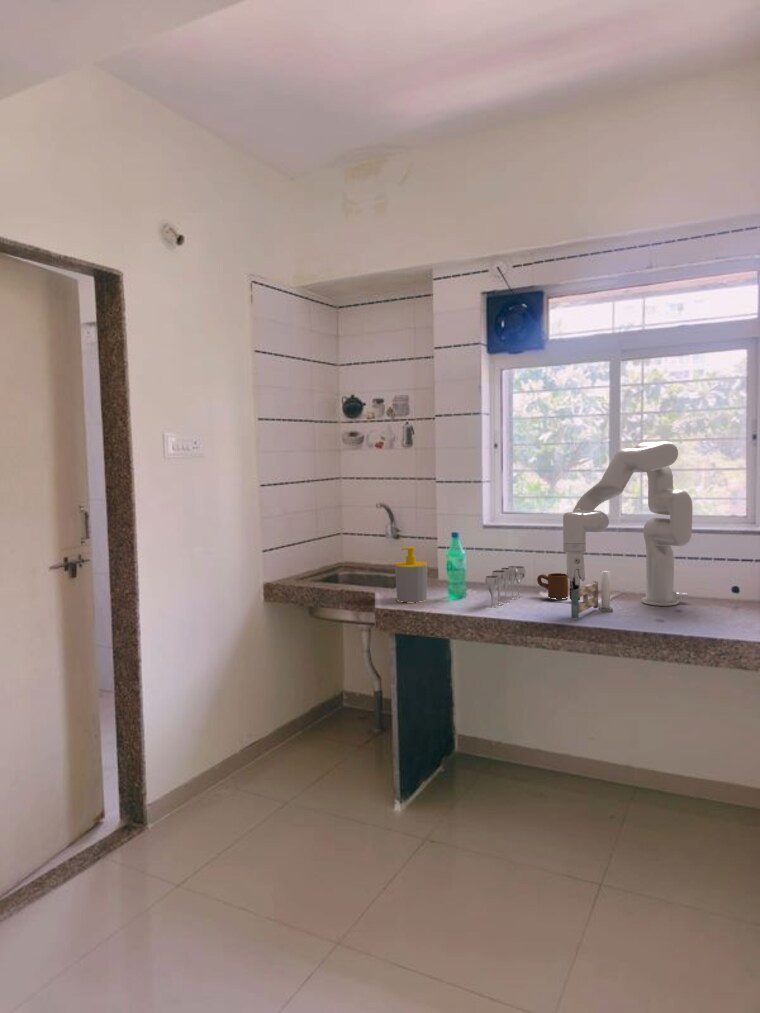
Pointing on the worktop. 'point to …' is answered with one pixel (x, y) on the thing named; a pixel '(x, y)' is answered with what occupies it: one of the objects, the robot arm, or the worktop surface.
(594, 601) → the gate
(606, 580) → the gate post
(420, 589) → the soap bottle
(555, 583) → the mug
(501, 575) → the goblet set
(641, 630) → the worktop surface
